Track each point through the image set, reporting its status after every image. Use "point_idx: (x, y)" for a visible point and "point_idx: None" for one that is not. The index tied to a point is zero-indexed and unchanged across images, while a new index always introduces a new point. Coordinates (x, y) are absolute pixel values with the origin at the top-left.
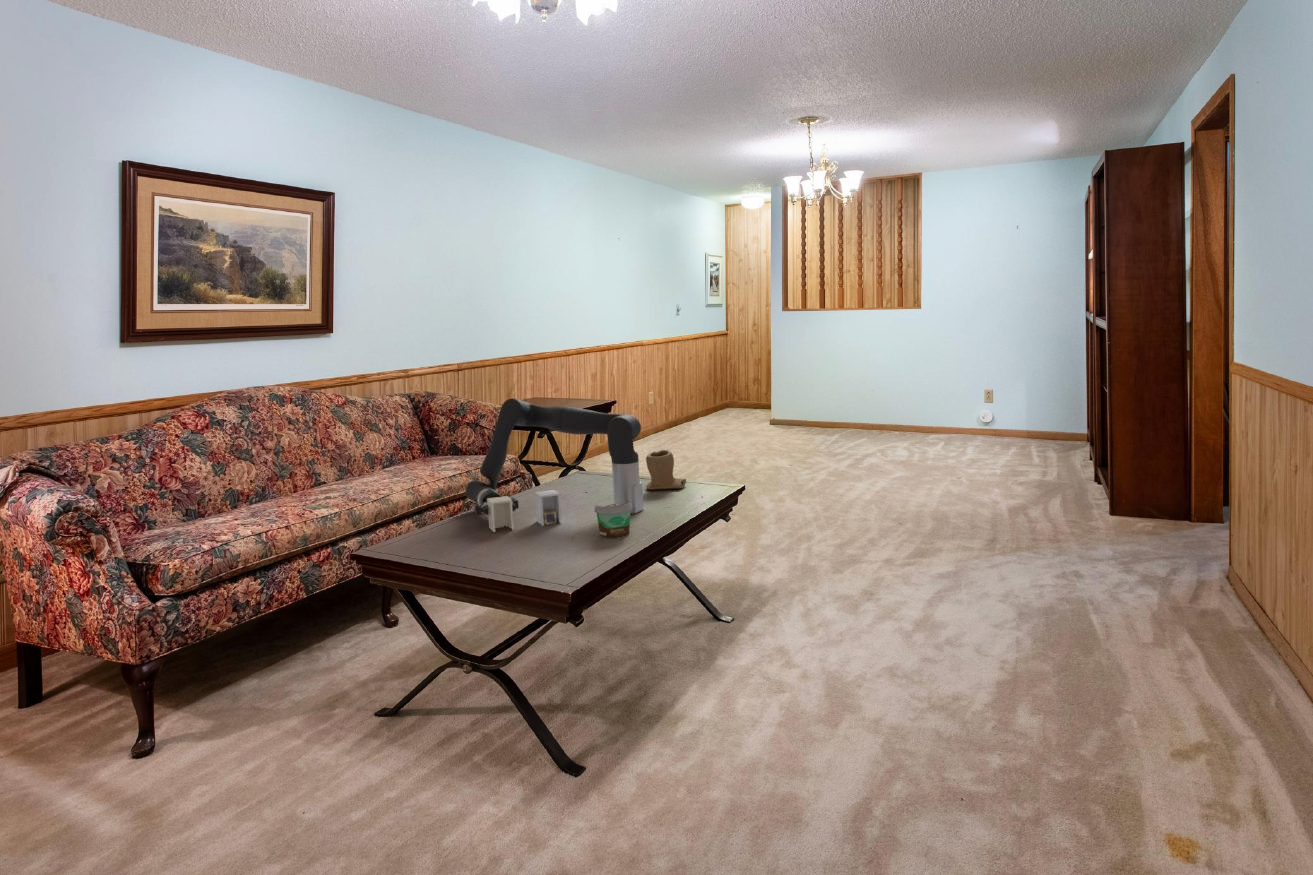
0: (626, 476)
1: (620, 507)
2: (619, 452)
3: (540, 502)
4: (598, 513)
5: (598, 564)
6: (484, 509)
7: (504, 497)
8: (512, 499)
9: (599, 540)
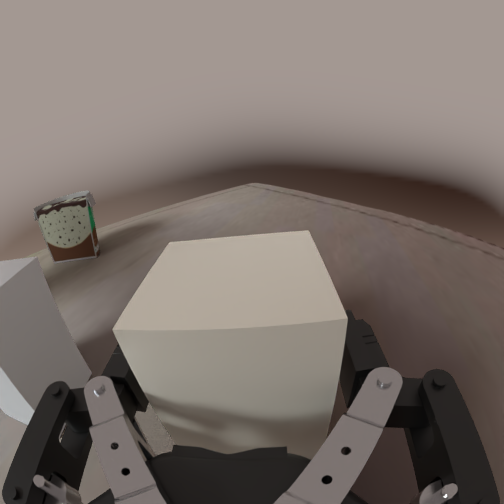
0: None
1: (74, 196)
2: None
3: (47, 289)
4: (90, 208)
5: (192, 202)
6: (360, 323)
7: (166, 295)
8: (36, 459)
9: (116, 245)
